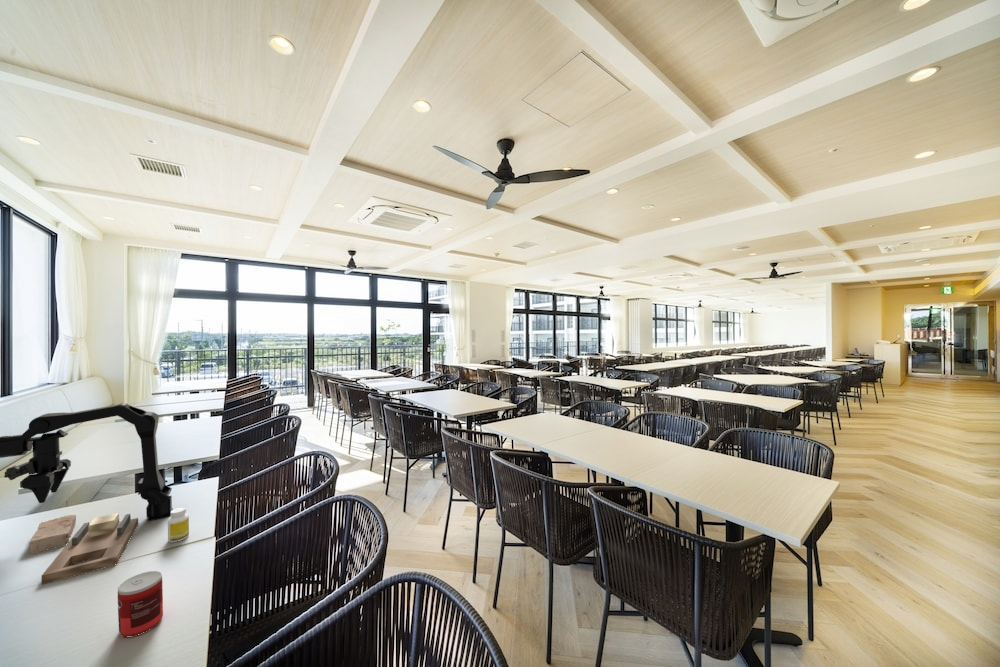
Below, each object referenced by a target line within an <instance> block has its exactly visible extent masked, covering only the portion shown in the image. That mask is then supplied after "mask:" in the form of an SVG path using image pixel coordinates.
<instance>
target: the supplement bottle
mask: <svg viewBox="0 0 1000 667" xmlns="http://www.w3.org/2000/svg"><path fill="white" fill-rule="evenodd" d="M186 509H187V508H186V507H177V508H173V510H172V511H171V512H170V515H171V516H169V518H168V520H167V540H168V542H169V543H178V542H181V541H183V540H185V539H187V538H188V537H189V535H190V533H189V532H190V526H189V523H190V520H189V514H188V513H187V510H186ZM177 541H178V542H177Z"/></svg>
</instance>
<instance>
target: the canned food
mask: <svg viewBox="0 0 1000 667" xmlns="http://www.w3.org/2000/svg"><path fill="white" fill-rule="evenodd" d="M117 587H118V588H117V613H118V614H117V615H118V616H117V619H118V632H119V635H120V636H121V635H122V636H126V637H125V638H128V637H127V636H135V635H138V634H141V633H143V632H146V631H148V630H149V629H151V628H152V629H153V627H154V626H155V625H156V624H158V623H160V622H161V621H162V619H163V616H164V605H163V604H164V602H163V601H164V597H163V575H162V572H161V571H158V570H152V571H151V570H150V571H146V572H141V573H139V574H135V575H133V576H131V577H129V578H128V579H126V580H124V581H123V582H122V583H120V584H119V586H117ZM158 625H159V624H158ZM156 626H157V625H156ZM156 626H155V627H156ZM155 627H154V628H155ZM152 629H151V630H152ZM149 631H150V630H149ZM149 631H148V632H149ZM146 633H147V632H146ZM143 634H144V633H143ZM141 635H142V634H141ZM122 636H121V637H122ZM138 636H139V635H138ZM135 637H136V636H135Z"/></svg>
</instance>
